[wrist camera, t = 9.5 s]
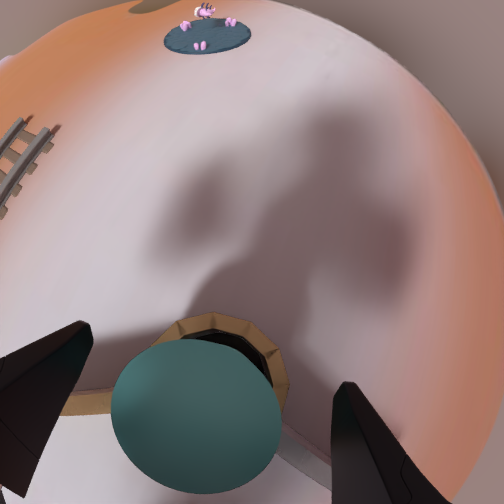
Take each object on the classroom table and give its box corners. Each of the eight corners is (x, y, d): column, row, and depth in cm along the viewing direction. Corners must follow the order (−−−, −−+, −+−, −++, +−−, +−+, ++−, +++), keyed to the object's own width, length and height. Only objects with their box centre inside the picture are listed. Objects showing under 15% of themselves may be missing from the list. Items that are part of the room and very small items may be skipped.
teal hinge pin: (220, 421, 16) (199, 517, 5) (172, 375, 17) (82, 407, 6) (267, 376, 17) (317, 420, 6) (219, 331, 18) (191, 302, 7)
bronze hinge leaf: (135, 509, 13) (116, 536, 9) (35, 397, 15) (0, 401, 11) (299, 374, 18) (316, 382, 13) (175, 253, 20) (160, 229, 16)
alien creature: (170, 25, 32) (166, -8, 26) (248, 20, 33) (250, -14, 26) (157, 61, 28) (148, 20, 22) (253, 55, 29) (256, 11, 23)
